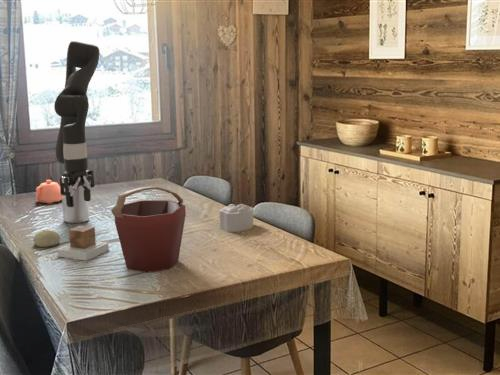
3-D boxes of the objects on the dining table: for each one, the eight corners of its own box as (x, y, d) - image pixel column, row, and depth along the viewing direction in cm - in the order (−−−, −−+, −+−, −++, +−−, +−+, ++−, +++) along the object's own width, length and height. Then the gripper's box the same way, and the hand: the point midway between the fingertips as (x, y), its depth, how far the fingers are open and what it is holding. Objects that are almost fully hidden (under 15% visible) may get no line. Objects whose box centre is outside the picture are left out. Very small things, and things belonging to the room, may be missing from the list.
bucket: (119, 280, 183) (114, 199, 177) (105, 258, 203) (100, 184, 197) (197, 267, 192) (194, 190, 187) (176, 248, 212) (173, 177, 207)
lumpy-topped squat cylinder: (216, 227, 237) (216, 205, 236) (244, 221, 244) (244, 200, 242) (230, 233, 229) (230, 210, 227) (259, 227, 236) (259, 205, 234)
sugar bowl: (69, 200, 285) (68, 179, 283) (45, 206, 273) (43, 184, 271) (52, 197, 291) (50, 176, 289) (27, 203, 280) (25, 182, 277)
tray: (57, 256, 205) (57, 248, 205) (81, 245, 216) (80, 238, 216) (86, 260, 201) (85, 252, 200) (108, 249, 211) (108, 242, 211)
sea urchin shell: (35, 245, 212) (31, 225, 215) (34, 256, 218) (31, 237, 221) (62, 241, 216) (58, 222, 219) (61, 252, 222) (56, 233, 225)
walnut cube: (70, 246, 206) (68, 229, 205) (81, 241, 212) (80, 225, 210) (84, 248, 204) (83, 231, 203) (95, 243, 209) (94, 227, 208)
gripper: (80, 152, 209) (84, 198, 212) (51, 159, 196) (55, 207, 200) (98, 153, 206) (101, 200, 209) (70, 160, 193) (73, 210, 197)
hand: (79, 203), depth 205 cm, fingers open, 8 cm apart
